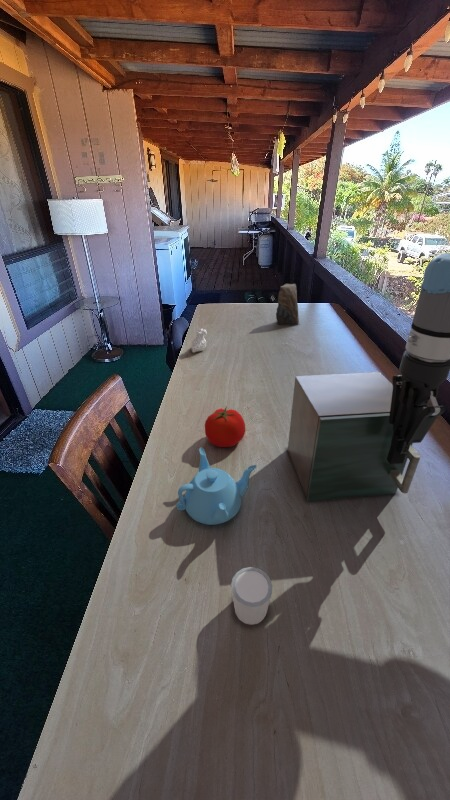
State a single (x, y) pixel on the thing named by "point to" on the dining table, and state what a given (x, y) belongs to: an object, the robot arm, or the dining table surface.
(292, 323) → the brown rock
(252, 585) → the glass of milk
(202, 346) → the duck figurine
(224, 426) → the tomato
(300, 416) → the cupboard
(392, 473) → the cupboard door
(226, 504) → the teapot
